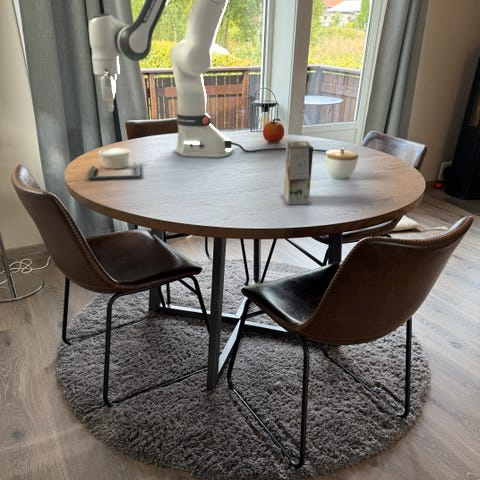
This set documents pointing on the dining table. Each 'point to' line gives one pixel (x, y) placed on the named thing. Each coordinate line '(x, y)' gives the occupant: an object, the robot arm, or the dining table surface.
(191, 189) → the dining table surface
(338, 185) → the dining table surface
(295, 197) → the coffee box
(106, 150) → the ramekin
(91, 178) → the bay
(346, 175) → the trinket box
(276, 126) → the fruit
